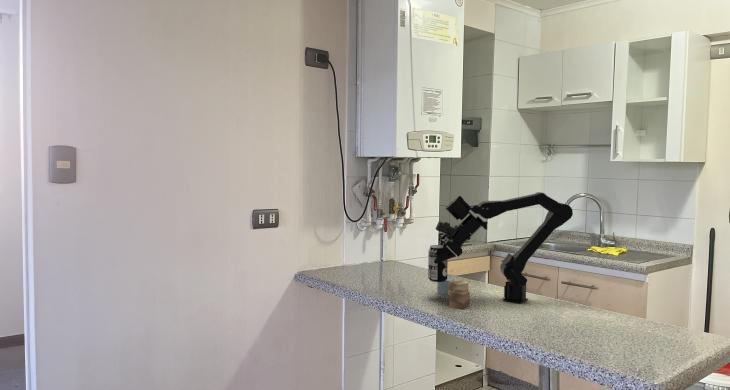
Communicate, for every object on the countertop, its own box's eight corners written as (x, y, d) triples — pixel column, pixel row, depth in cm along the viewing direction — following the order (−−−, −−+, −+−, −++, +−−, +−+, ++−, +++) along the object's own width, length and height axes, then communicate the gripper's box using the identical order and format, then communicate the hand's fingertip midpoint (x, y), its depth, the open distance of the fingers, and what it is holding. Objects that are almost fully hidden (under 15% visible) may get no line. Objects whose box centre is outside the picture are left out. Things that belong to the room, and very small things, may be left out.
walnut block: (469, 306, 174) (469, 291, 174) (463, 309, 170) (463, 294, 169) (455, 304, 177) (455, 289, 176) (449, 307, 172) (449, 292, 172)
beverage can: (446, 278, 185) (447, 244, 185) (447, 282, 179) (448, 247, 178) (428, 278, 186) (428, 244, 185) (428, 282, 180) (428, 247, 179)
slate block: (453, 291, 194) (453, 278, 194) (451, 295, 189) (451, 281, 189) (439, 290, 195) (440, 277, 195) (437, 293, 190) (438, 280, 190)
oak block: (468, 296, 187) (468, 282, 186) (457, 298, 184) (458, 284, 184) (458, 293, 191) (458, 280, 191) (448, 295, 188) (448, 281, 188)
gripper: (446, 210, 190) (416, 240, 192) (452, 215, 172) (418, 249, 173) (468, 232, 190) (438, 262, 192) (476, 239, 172) (442, 272, 173)
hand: (433, 261), depth 182 cm, fingers closed on beverage can, 6 cm apart
